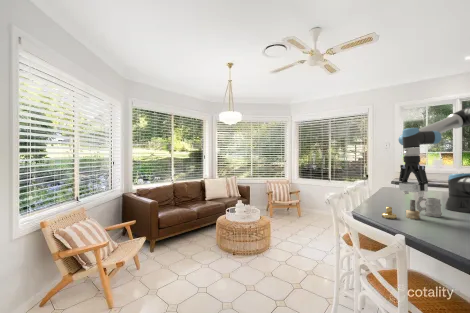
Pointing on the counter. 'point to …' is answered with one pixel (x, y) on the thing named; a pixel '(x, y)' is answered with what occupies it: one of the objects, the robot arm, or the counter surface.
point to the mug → (430, 206)
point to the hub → (389, 214)
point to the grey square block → (411, 187)
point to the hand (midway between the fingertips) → (413, 195)
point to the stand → (412, 211)
